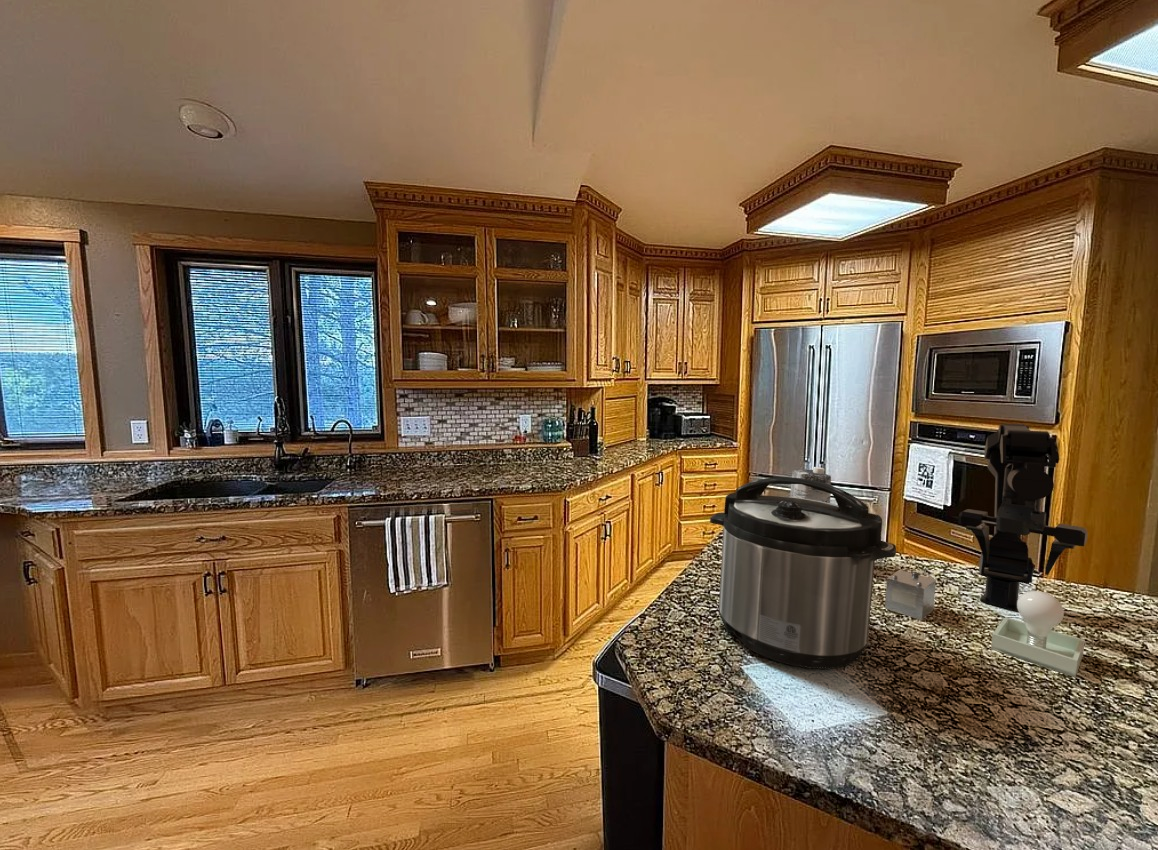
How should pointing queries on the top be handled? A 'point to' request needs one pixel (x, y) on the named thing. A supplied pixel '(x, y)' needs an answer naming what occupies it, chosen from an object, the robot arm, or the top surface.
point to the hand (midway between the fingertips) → (1015, 567)
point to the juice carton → (809, 492)
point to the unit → (910, 594)
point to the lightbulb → (1039, 615)
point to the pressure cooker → (799, 573)
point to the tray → (1057, 656)
